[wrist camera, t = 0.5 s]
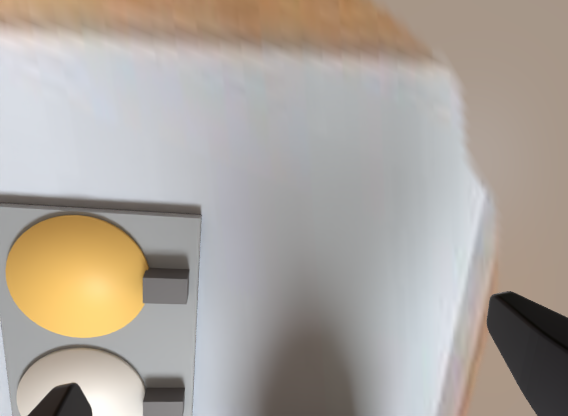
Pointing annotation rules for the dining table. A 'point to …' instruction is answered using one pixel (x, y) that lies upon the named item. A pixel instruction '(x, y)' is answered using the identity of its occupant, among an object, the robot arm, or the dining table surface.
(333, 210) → the dining table surface
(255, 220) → the dining table surface
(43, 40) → the dining table surface
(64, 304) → the board
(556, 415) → the robot arm
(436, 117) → the dining table surface
